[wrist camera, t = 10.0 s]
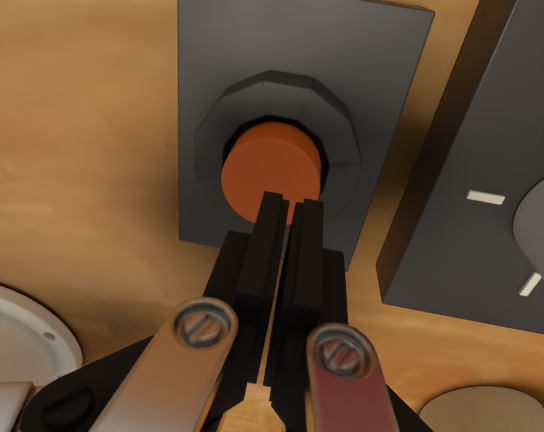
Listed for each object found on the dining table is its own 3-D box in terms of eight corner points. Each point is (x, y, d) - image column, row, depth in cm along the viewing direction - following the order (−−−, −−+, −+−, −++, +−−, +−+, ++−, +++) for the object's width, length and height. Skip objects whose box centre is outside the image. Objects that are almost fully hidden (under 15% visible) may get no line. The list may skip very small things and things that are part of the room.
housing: (345, 246, 21) (349, 297, 18) (191, 217, 21) (166, 262, 18) (422, 7, 14) (451, 16, 11) (195, -31, 14) (156, -34, 11)
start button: (311, 210, 16) (309, 234, 14) (228, 195, 16) (217, 217, 14) (330, 130, 14) (330, 148, 12) (235, 113, 14) (224, 129, 12)
